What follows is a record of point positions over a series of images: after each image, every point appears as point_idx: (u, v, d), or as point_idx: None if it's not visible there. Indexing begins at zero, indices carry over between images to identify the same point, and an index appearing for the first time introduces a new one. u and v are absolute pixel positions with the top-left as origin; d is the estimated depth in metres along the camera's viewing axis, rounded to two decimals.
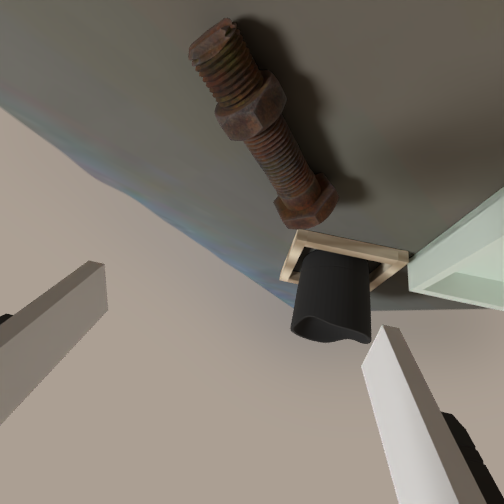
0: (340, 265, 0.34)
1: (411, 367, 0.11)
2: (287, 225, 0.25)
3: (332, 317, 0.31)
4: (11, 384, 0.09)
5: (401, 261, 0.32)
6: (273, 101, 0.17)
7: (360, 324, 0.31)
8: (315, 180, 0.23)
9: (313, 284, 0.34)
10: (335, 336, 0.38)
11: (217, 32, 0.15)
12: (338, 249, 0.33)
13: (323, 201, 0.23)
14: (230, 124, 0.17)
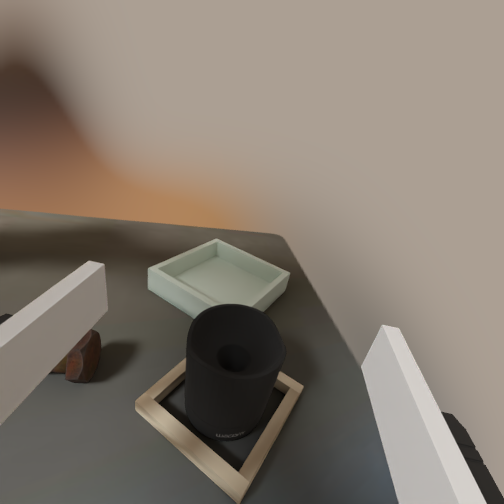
0: None
1: (411, 367, 0.11)
2: (75, 348, 0.28)
3: None
4: (11, 384, 0.09)
5: None
6: None
7: None
8: None
9: None
10: (278, 351, 0.27)
11: None
12: (174, 370, 0.32)
13: None
14: None
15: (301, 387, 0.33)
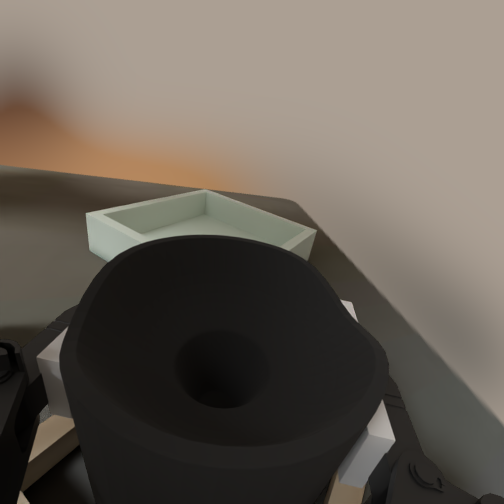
0: None
1: None
2: None
3: None
4: None
5: None
6: None
7: None
8: None
9: None
10: (350, 345, 0.09)
11: None
12: None
13: None
14: None
15: None
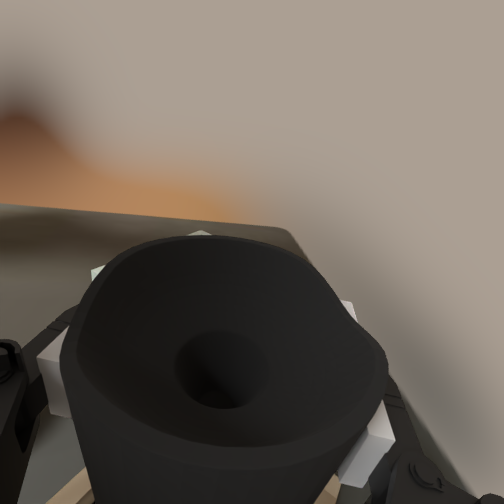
0: None
1: None
2: None
3: None
4: None
5: None
6: None
7: None
8: None
9: None
10: (349, 345, 0.09)
11: None
12: None
13: None
14: None
15: (338, 483, 0.18)
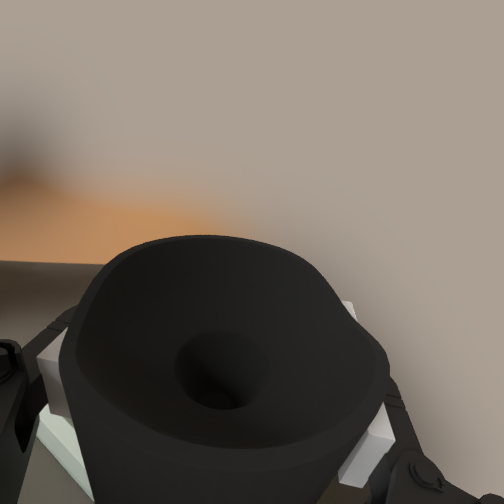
0: None
1: None
2: None
3: None
4: None
5: None
6: None
7: None
8: None
9: None
10: (350, 346, 0.09)
11: None
12: None
13: None
14: None
15: None
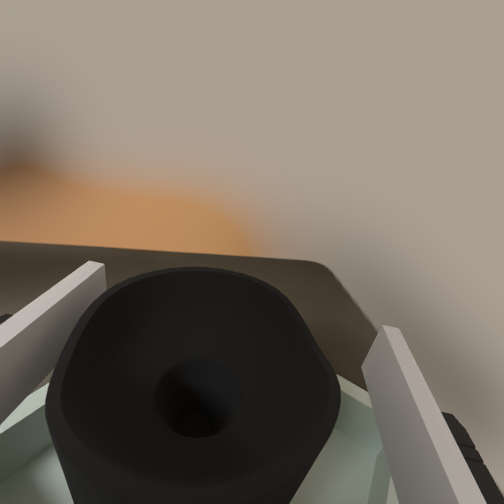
0: None
1: (411, 367, 0.11)
2: None
3: None
4: (11, 384, 0.09)
5: None
6: None
7: None
8: None
9: None
10: (313, 377, 0.10)
11: None
12: None
13: None
14: None
15: None
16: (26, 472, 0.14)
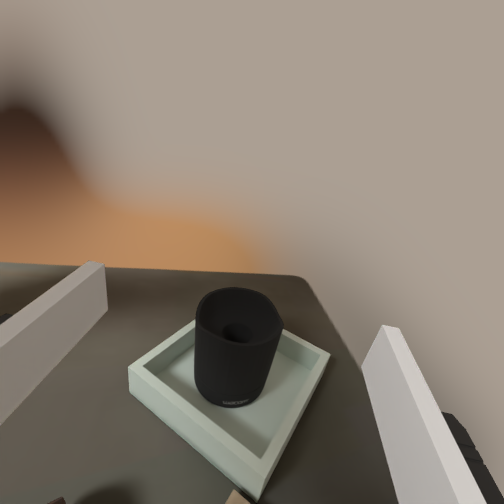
0: None
1: (411, 367, 0.11)
2: None
3: None
4: (11, 384, 0.09)
5: (229, 499, 0.23)
6: None
7: None
8: None
9: (194, 348, 0.31)
10: (276, 326, 0.31)
11: None
12: None
13: None
14: None
15: None
16: (165, 371, 0.34)
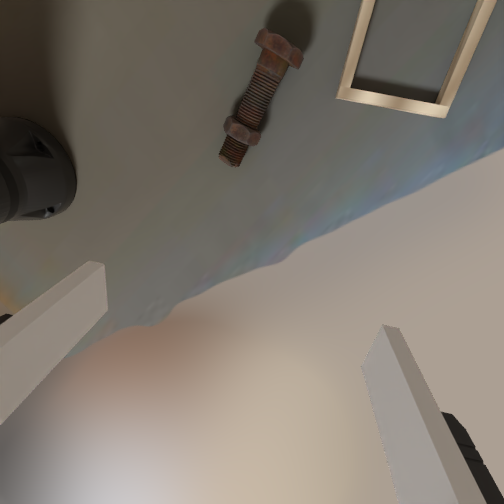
0: None
1: (411, 367, 0.11)
2: (288, 52, 0.30)
3: None
4: (11, 384, 0.09)
5: None
6: (227, 123, 0.36)
7: None
8: (258, 60, 0.33)
9: None
10: None
11: (220, 159, 0.38)
12: (352, 48, 0.32)
13: (259, 44, 0.31)
14: (241, 138, 0.35)
15: None
16: None
